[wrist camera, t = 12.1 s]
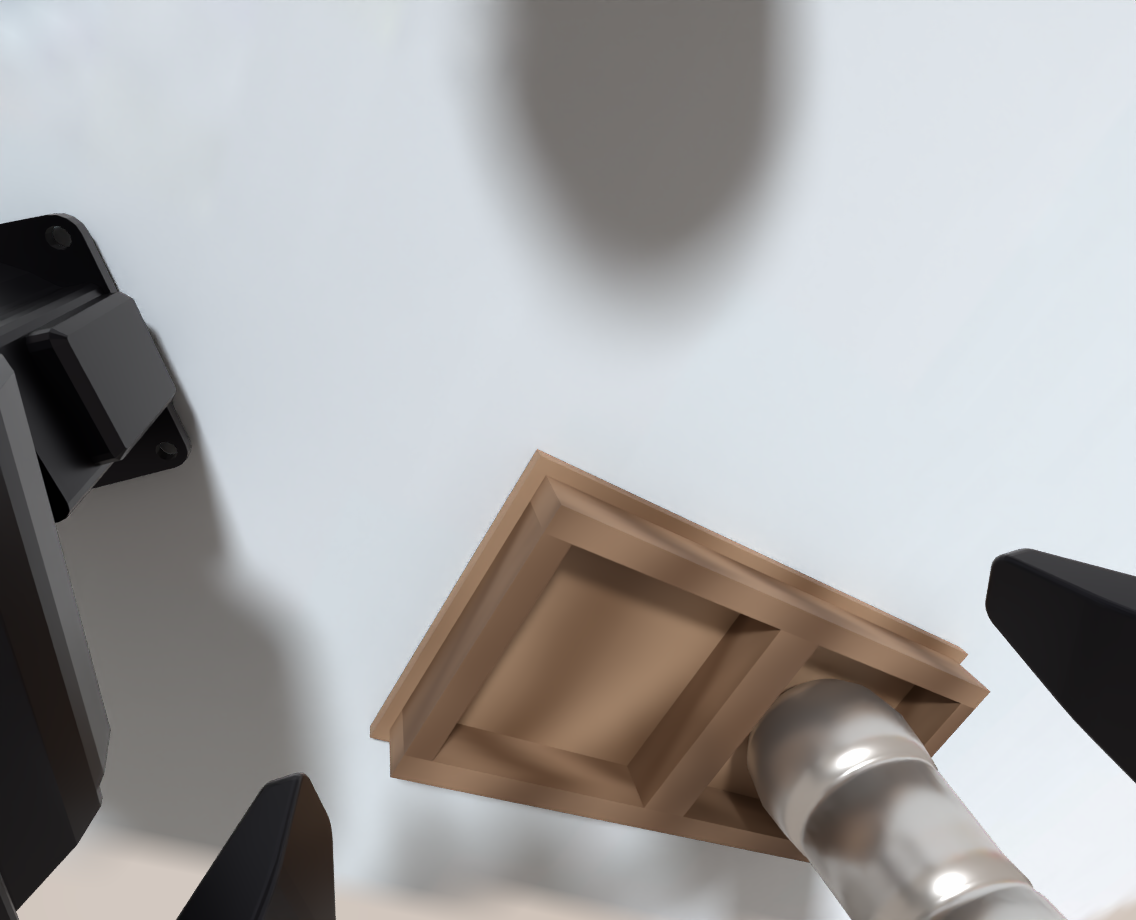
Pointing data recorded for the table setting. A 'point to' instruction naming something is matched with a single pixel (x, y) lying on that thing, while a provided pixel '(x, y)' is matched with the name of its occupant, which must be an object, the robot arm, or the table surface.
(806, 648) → the wooden divided tray
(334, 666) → the table surface
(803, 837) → the silver metal bottle
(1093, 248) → the table surface
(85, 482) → the robot arm
